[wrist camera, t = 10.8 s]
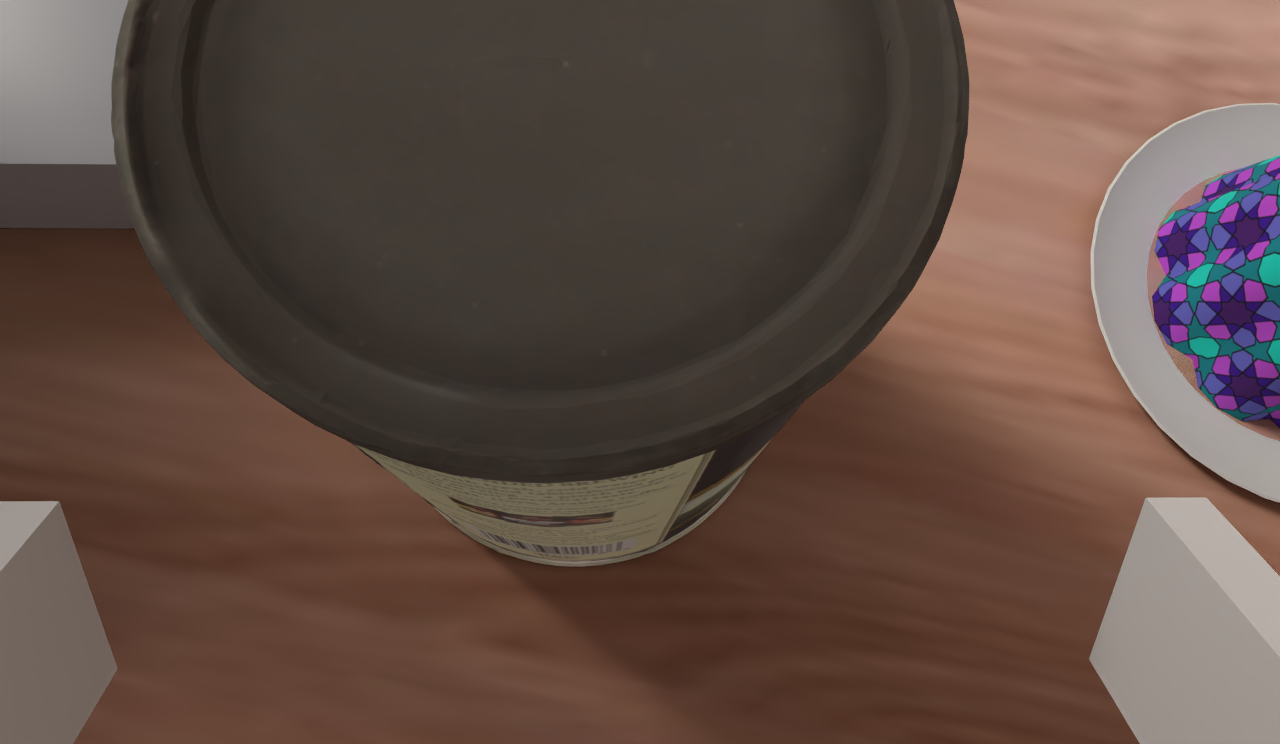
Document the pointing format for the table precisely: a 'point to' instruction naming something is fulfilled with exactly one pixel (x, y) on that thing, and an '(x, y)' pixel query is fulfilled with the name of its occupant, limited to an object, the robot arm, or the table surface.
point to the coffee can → (542, 229)
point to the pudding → (1200, 286)
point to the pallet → (59, 115)
